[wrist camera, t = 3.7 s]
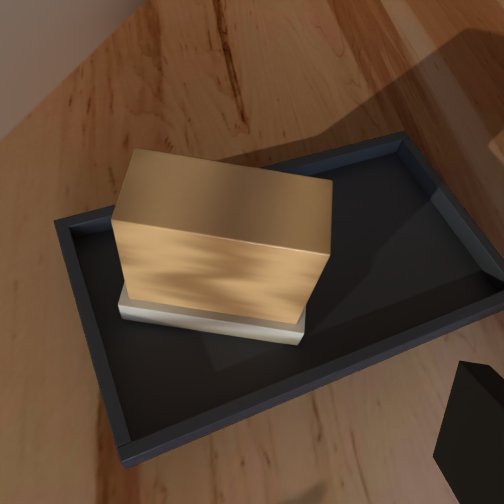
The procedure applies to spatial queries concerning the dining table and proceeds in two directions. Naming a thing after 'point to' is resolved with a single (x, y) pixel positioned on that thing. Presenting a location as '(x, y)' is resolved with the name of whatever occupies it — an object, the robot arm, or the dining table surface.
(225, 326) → the eraser
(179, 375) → the tray
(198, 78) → the dining table surface
